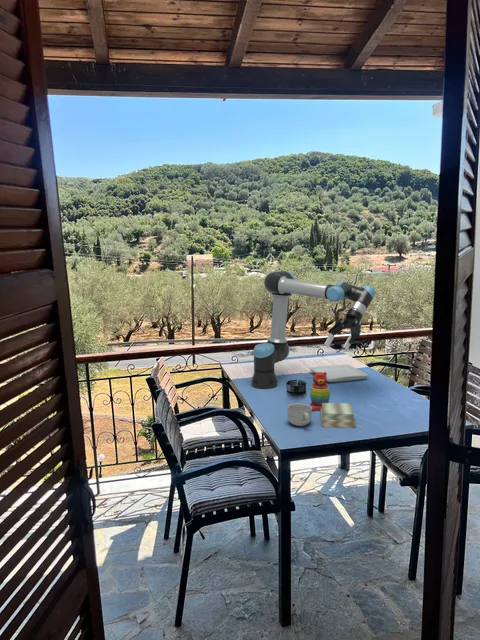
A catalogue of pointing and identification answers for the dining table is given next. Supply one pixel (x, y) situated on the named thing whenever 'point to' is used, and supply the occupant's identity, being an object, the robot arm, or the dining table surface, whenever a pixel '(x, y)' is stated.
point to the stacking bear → (319, 391)
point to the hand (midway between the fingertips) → (335, 347)
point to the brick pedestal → (337, 415)
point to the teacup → (299, 414)
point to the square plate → (340, 372)
